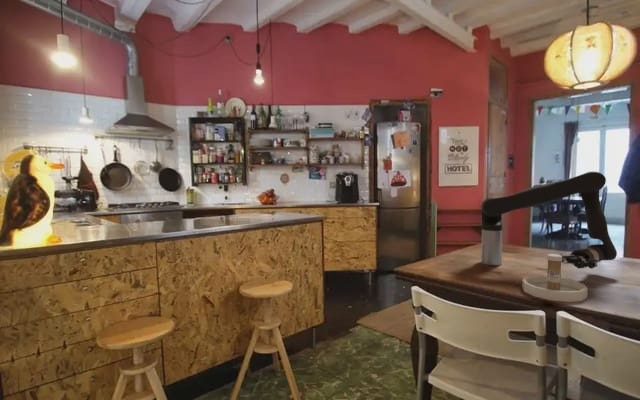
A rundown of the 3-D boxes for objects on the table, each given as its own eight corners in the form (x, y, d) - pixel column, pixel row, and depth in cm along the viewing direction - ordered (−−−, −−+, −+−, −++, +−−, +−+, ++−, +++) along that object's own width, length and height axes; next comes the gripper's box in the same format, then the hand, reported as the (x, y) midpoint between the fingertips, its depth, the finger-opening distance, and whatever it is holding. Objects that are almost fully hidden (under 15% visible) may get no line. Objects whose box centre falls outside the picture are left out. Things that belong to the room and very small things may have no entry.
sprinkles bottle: (545, 290, 136) (546, 255, 135) (547, 287, 139) (548, 253, 138) (560, 292, 133) (561, 256, 132) (561, 289, 136) (562, 254, 135)
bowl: (527, 298, 131) (527, 288, 130) (519, 282, 149) (520, 274, 149) (593, 304, 123) (594, 294, 123) (577, 287, 141) (577, 278, 141)
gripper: (565, 246, 155) (546, 251, 146) (605, 251, 143) (587, 257, 134) (565, 263, 155) (546, 269, 147) (604, 270, 143) (586, 277, 135)
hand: (565, 263), depth 140 cm, fingers open, 8 cm apart
